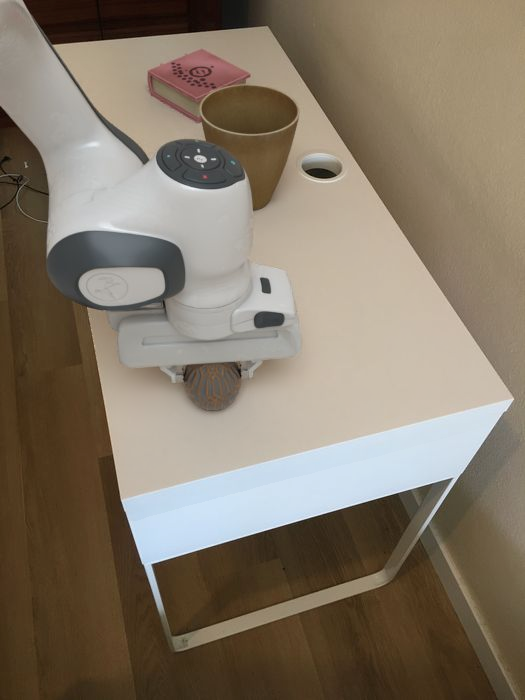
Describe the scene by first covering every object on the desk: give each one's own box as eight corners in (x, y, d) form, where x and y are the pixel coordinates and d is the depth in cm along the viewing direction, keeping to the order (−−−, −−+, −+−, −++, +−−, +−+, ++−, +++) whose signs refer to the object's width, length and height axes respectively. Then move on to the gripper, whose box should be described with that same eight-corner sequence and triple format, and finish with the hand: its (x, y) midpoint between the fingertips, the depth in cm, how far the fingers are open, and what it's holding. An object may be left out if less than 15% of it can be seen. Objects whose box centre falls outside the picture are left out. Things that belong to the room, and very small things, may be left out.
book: (200, 70, 124) (199, 47, 120) (250, 97, 118) (250, 73, 114) (148, 93, 117) (144, 68, 113) (197, 123, 111) (196, 98, 107)
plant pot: (308, 208, 96) (319, 119, 84) (230, 236, 91) (229, 145, 78) (263, 162, 104) (267, 74, 91) (189, 185, 99) (182, 96, 86)
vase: (245, 414, 71) (246, 372, 64) (190, 423, 70) (184, 381, 63) (235, 369, 75) (235, 325, 68) (182, 377, 74) (177, 334, 67)
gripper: (101, 325, 55) (123, 404, 66) (310, 313, 57) (299, 392, 68) (105, 279, 59) (125, 360, 70) (301, 269, 61) (291, 350, 72)
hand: (212, 376), depth 69 cm, fingers closed on vase, 7 cm apart
